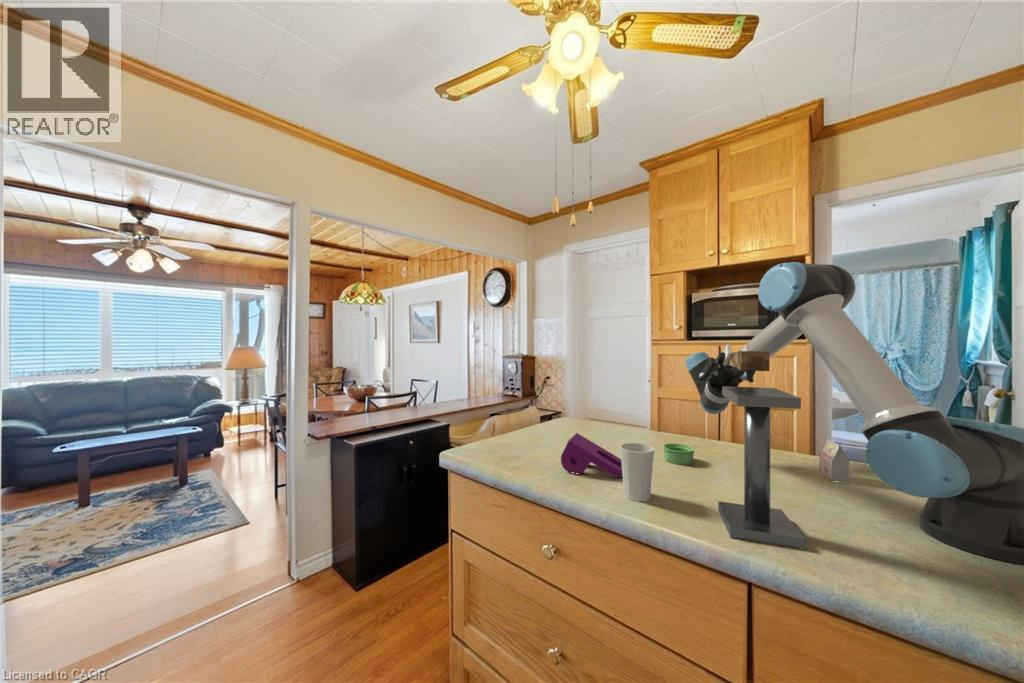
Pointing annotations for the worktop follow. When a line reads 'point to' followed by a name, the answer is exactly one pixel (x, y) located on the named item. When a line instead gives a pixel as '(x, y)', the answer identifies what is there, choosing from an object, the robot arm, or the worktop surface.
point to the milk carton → (834, 462)
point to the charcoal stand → (759, 471)
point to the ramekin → (678, 453)
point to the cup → (637, 470)
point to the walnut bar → (750, 360)
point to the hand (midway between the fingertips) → (738, 348)
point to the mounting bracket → (589, 457)
